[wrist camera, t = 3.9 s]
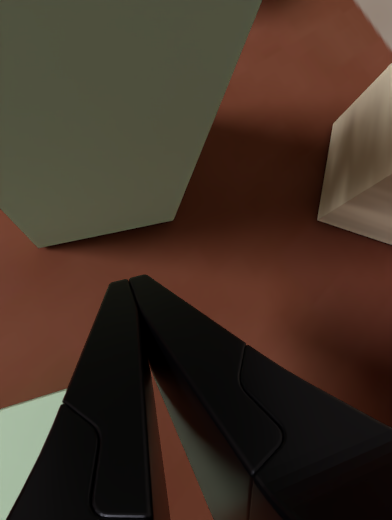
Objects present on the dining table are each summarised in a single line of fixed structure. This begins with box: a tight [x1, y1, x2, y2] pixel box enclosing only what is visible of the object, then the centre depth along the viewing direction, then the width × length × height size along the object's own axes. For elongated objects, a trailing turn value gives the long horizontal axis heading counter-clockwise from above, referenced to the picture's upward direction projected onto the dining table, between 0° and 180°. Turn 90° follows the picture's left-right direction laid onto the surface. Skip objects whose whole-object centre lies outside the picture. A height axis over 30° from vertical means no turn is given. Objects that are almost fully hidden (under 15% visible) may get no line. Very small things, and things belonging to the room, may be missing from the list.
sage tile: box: [0, 389, 67, 520], centre depth 12 cm, size 7×7×1 cm
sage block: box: [0, 0, 262, 248], centre depth 10 cm, size 6×6×13 cm
